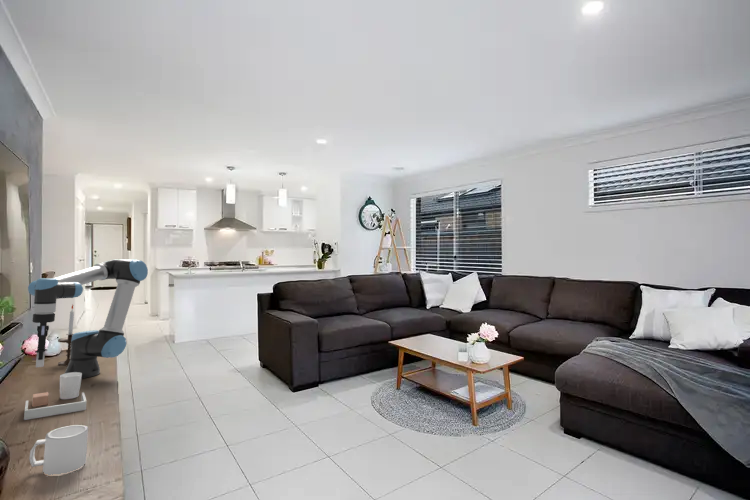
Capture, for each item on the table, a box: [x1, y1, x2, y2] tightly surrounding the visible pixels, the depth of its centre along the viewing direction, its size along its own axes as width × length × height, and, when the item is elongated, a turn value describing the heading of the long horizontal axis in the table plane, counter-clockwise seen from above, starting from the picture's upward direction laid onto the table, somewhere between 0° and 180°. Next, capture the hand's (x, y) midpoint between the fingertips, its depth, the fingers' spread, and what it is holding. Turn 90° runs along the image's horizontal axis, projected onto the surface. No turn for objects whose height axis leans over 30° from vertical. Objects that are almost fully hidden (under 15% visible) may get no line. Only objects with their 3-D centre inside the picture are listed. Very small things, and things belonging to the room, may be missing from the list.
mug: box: [28, 424, 89, 475], centre depth 117 cm, size 14×10×11 cm
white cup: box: [59, 372, 82, 400], centre depth 175 cm, size 8×8×10 cm
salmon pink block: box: [31, 391, 49, 408], centre depth 165 cm, size 5×5×4 cm
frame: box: [23, 392, 88, 421], centre depth 160 cm, size 13×19×4 cm
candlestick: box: [57, 303, 75, 366], centre depth 228 cm, size 11×11×35 cm
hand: (39, 366), depth 171 cm, fingers closed
